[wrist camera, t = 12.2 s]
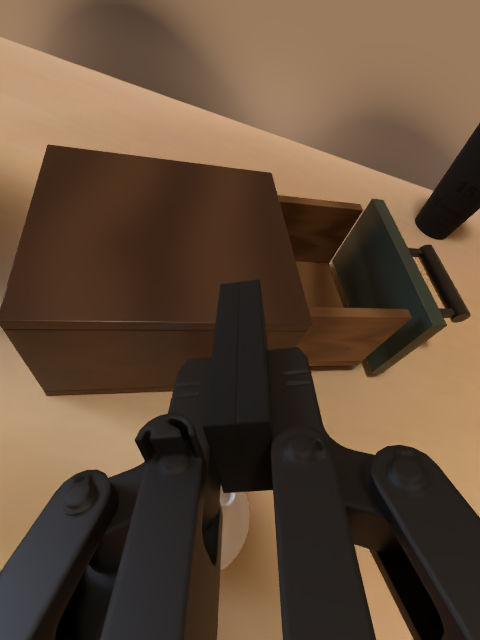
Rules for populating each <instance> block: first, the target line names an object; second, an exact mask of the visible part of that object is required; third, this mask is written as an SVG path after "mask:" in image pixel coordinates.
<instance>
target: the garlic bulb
mask: <svg viewBox="0 0 480 640" xmlns="http://www.w3.org/2000/svg"><path fill="white" fill-rule="evenodd" d="M220 504H221V507H222V514H223V526H222V547H221V567H220V571H221V570H223V569H224V568H225V567H227V566H228V565H229V564H230V563H231V562H232V561H233V560H234V559H235V558H236V556H237V555H238V554H239V552H240V550H241V549H242V547H243V545H244V543H245V540H246V537H247V534H248V529H249V523H250V510H249V503H248V499H247V495H246V493H245V492H235V493H223V490H222V486H221V489H220Z"/></svg>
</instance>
